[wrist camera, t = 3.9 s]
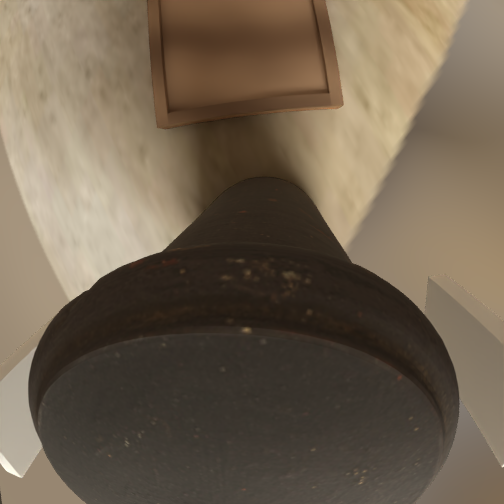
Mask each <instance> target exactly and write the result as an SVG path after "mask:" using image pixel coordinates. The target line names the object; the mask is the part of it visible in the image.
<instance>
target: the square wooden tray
mask: <svg viewBox="0 0 504 504" xmlns="http://www.w3.org/2000/svg"><path fill="white" fill-rule="evenodd" d="M147 6H148V28H149V45H150V59H151V72H152V83H153V94H154V104H155V113H156V122H157V128H162V129H169V128H174V127H179V126H184V125H190V124H196V123H202V122H208V121H214V120H220V119H227V118H235V117H242V116H250V115H259V114H268V113H278V112H289V111H302V110H318V109H338V108H340V107H341V106H343V105H344V103H343V96H342V89H341V82H340V76H339V70H338V63H337V58H336V52H335V46H334V41H333V36H332V31H331V26H330V21H329V16H328V11H327V7H326V3H325V0H147Z"/></svg>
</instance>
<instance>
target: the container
mask: <svg viewBox="0 0 504 504" xmlns="http://www.w3.org/2000/svg"><path fill="white" fill-rule="evenodd" d="M28 401H29V407H30V412H31V417H32V420H33V424H34V427H35V430H36V433H37V435H38V437H39V439H40V441H41V443H42V446H43V449H44V451H45V453H46V456H47V458H48V459H49V461H50V463H51V464H52V466H53V468H54V469H55V471H56V472H57V474H58V475H59V476H60V477H61V479H62V480H63V481H64V482H65V483H66V485H67V486H68V487H69V488H70V489H71V490H72V491H73V492H74V493H75V494H76V495H77V496H78V497H80V498H81V499H82V500H83V501H85V502H86V503H87V504H415V503H416V502H417V500H418V499H419V498H420V497H421V496H422V495H423V493H424V492H425V491H426V490H427V488H428V487H429V486H430V485H431V483H432V482H433V481H434V479H435V478H436V476H437V475H438V473H439V472H440V470H441V469H442V467H443V465H444V463H445V461H446V459H447V457H448V455H449V452H450V449H451V447H452V444H453V441H454V437H455V433H456V428H457V423H458V417H459V388H458V382H457V377H456V372H455V369H454V366H453V363H452V361H451V358H450V356H449V353H448V351H447V348H446V346H445V344H444V342H443V340H442V338H441V337H440V335H439V334H438V332H437V331H436V329H435V328H434V326H433V325H432V323H431V322H430V321H429V320H428V318H427V317H426V316H425V315H424V314H423V313H422V311H421V310H420V309H419V308H418V307H417V306H416V305H415V304H414V303H413V302H412V301H411V300H410V299H409V298H408V297H406V296H405V295H404V294H403V293H402V292H400V291H399V290H398V289H396V288H395V287H394V286H392V285H391V284H390V283H388V282H387V281H385V280H383V279H382V278H380V277H379V276H377V275H376V274H374V273H372V272H370V271H369V270H367V269H365V268H363V267H361V266H358V265H356V264H353V263H352V262H351V260H350V259H349V257H348V256H347V254H346V252H345V251H344V249H343V248H342V246H341V245H340V243H339V242H338V240H337V239H336V237H335V236H334V234H333V233H332V231H331V230H330V228H329V227H328V225H327V223H326V222H325V220H324V219H323V217H322V215H321V214H320V212H319V210H318V209H317V207H316V206H315V204H314V203H313V201H312V200H311V199H310V198H309V197H308V196H307V195H306V194H305V193H304V192H303V191H302V190H301V189H299V188H298V187H297V186H295V185H294V184H292V183H290V182H287V181H285V180H282V179H278V178H273V177H257V178H251V179H247V180H244V181H241V182H239V183H237V184H235V185H233V186H232V187H230V188H229V189H227V190H226V191H225V192H223V193H222V194H221V195H220V196H219V197H218V198H217V199H216V200H215V201H214V202H213V203H212V204H211V205H210V206H209V207H208V208H207V209H206V210H205V211H204V212H203V213H202V214H201V215H200V216H199V217H198V218H197V219H196V220H195V221H194V222H193V223H192V224H191V225H190V226H189V227H188V228H186V229H185V230H184V231H183V232H182V233H181V234H180V235H179V236H178V237H177V238H176V239H175V240H174V241H173V242H172V243H171V244H170V245H169V246H168V247H167V248H166V249H164V250H163V251H162V252H160V253H156V254H153V255H150V256H147V257H144V258H142V259H139V260H137V261H134V262H132V263H129V264H126V265H124V266H122V267H119V268H117V269H116V270H114V271H112V272H110V273H109V274H107V275H105V276H103V277H102V278H100V279H99V280H98V281H97V282H96V283H95V284H94V285H93V286H92V287H91V288H90V289H89V290H87V291H85V292H83V293H82V294H81V295H79V296H78V297H76V298H75V299H73V300H72V301H71V302H69V303H68V304H67V305H65V306H64V307H63V308H62V309H61V310H60V311H59V313H58V314H57V315H56V316H55V317H54V318H53V320H52V321H51V322H50V324H49V325H48V327H47V328H46V330H45V332H44V334H43V336H42V337H41V339H40V341H39V343H38V346H37V348H36V350H35V353H34V356H33V359H32V363H31V368H30V373H29V379H28Z"/></svg>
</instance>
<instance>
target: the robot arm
mask: <svg viewBox="0 0 504 504" xmlns="http://www.w3.org/2000/svg"><path fill="white" fill-rule="evenodd" d="M425 316H426V317H427V318H428V320H429V321H430V322H431V323H432V325H433V326H434V328H435V329H436V331H437V332H438V334H439V335H440V337H441V338H442V340H443V342H444V344H445V346H446V348H447V351H448V353H449V356H450V358H451V361H452V363H453V366H454V369H455V372H456V377H457V382H458V388H459V398H460V400H461V401H462V403H463V404H464V406H465V407H466V409H467V410H468V412H469V414H470V415H471V417H472V418H473V420H474V422H475V423H476V425H477V427H478V428H479V430H480V431H481V433H482V435H483V436H484V438H485V440H486V441H487V443H488V445H489V446H490V448H491V450H492V452H493V453H494V455H495V457H496V458H497V460H498V462H499V464H500V465H501V467H504V321H503V320H502V319H501V318H500V317H499V316H498V315H496V314H495V313H494V312H492V311H491V310H490V309H489V308H488V307H487V306H485V305H484V304H483V303H482V302H481V301H479V300H478V299H477V298H476V297H474V296H473V295H472V294H471V293H469V292H468V291H467V290H465V289H464V288H463V287H462V286H461V285H459V284H458V283H457V282H455V281H454V280H453V279H451V278H450V277H449V276H447V275H446V274H442V275H436V276H429V277H428V286H427V297H426V306H425ZM54 317H55V316H54ZM54 317H53V318H54ZM53 318H52V319H51V320H50V321H48V322H47V323H46V324H45V325H44V326H43V327H42V328H40V329H39V330H38V331H37V332H36V333H35V334H34V335H32V336H31V337H30V338H29V339H28V340H27V341H26V342H25V343H23V344H22V345H21V347H19V348H18V349H17V350H16V351H15V352H14V353H12V354H11V355H10V356H9V357H8V358H7V359H6V360H5V361H4V362H3V363H2V364H1V365H0V463H1V465H2V466H3V467H4V468H5V470H6V471H8V472H9V473H12V474H14V475H16V476H18V477H20V478H22V477H23V476H24V474H25V473H26V471H27V469H28V468H29V466H30V465H31V463H32V462H33V460H34V459H35V457H36V456H37V454H38V452H39V451H40V450H41V448H42V447H43V446H42V443H41V441H40V439H39V437H38V435H37V433H36V430H35V427H34V424H33V420H32V417H31V412H30V407H29V401H28V379H29V373H30V368H31V363H32V359H33V356H34V353H35V350H36V348H37V346H38V343H39V341H40V339H41V337H42V336H43V334H44V332H45V330H46V328H47V327H48V325H49V324H50V322H51V321H52V320H53ZM0 504H2V501H1V494H0Z"/></svg>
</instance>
